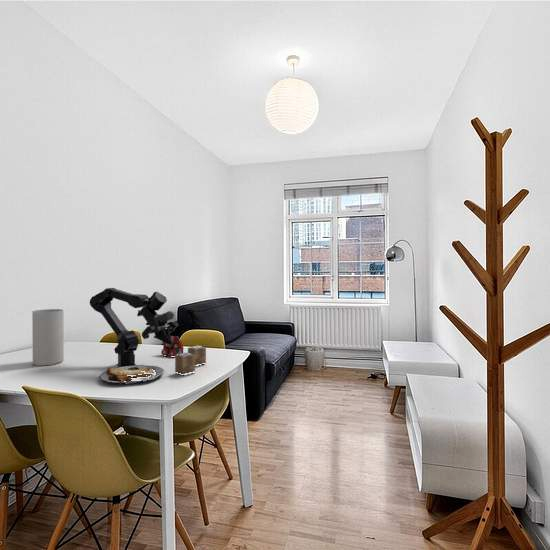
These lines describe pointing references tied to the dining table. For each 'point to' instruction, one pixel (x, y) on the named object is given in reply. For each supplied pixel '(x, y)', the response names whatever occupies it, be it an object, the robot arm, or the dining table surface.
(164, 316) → the robot arm
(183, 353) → the key
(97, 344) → the dining table surface
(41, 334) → the cylinder vase
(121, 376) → the food plate
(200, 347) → the key
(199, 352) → the key post
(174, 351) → the toy fire truck
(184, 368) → the key post
